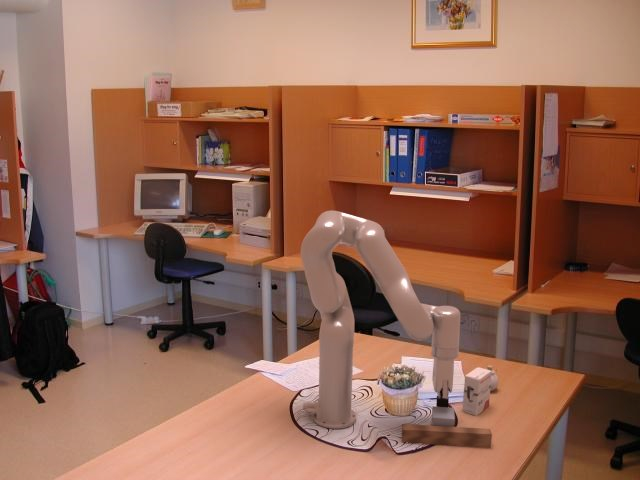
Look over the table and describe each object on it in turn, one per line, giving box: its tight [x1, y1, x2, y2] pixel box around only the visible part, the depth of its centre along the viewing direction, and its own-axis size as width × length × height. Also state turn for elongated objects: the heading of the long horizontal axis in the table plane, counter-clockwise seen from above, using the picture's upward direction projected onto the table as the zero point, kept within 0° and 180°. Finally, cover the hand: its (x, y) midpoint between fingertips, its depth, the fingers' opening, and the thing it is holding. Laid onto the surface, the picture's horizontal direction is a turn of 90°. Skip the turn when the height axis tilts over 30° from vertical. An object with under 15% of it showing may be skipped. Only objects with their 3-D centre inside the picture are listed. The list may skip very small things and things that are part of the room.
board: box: [401, 423, 493, 449], centre depth 198 cm, size 24×3×4 cm, turn 86°
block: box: [430, 406, 456, 427], centre depth 203 cm, size 6×6×6 cm
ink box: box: [461, 367, 492, 417], centre depth 216 cm, size 9×5×12 cm, turn 141°
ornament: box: [486, 363, 499, 392], centre depth 229 cm, size 6×7×10 cm
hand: (442, 409), depth 207 cm, fingers closed
